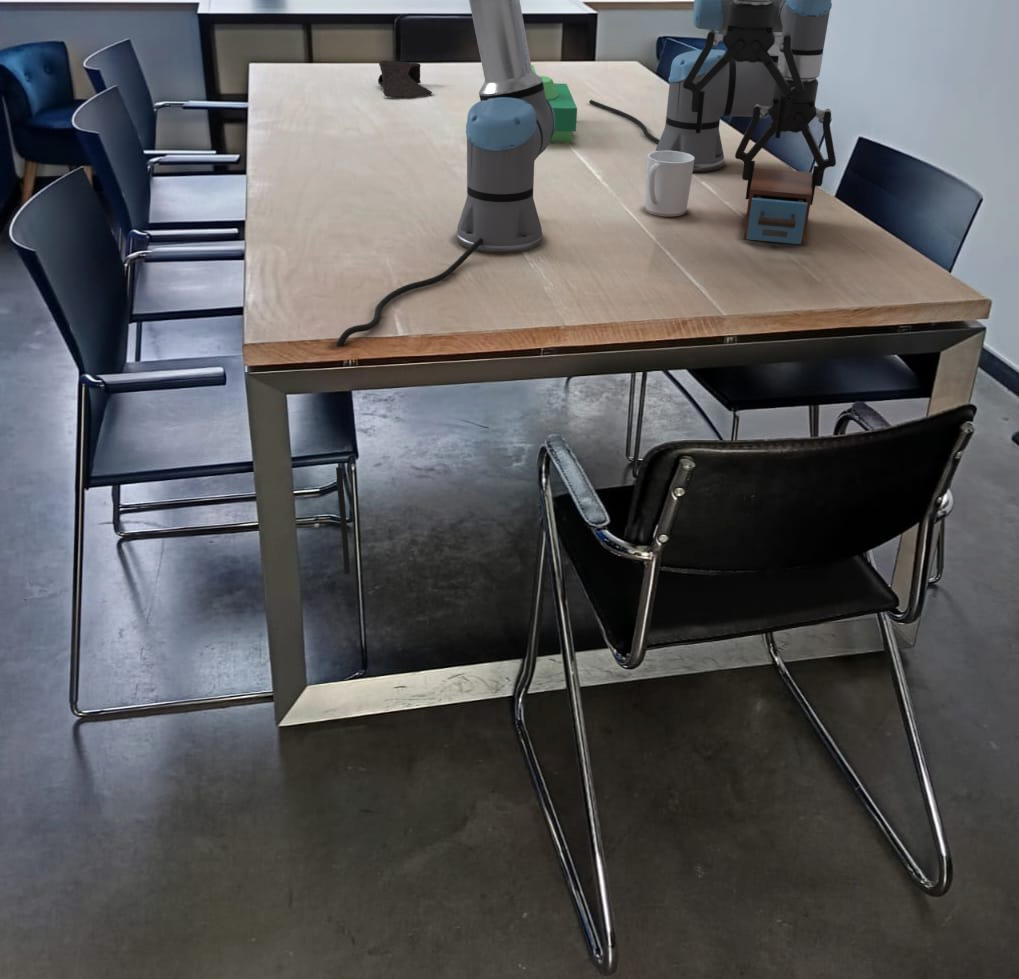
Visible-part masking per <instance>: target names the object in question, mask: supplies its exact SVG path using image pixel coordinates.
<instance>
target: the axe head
mask: <svg viewBox="0 0 1019 979" xmlns="http://www.w3.org/2000/svg"><path fill="white" fill-rule="evenodd" d="M378 66H379V68H380V72H381V74H379V75H378V79H377V84H378V85H379V86H380V87H381V88H382V89H383V95H384V96H385V97H388V98H394V99H395V98H396V99H403V98H405V99H406V98H407V99H411V98H418V97H425V96H429V95H432V94H433V91H431V90H430V89H428V88H427V87H425V86H422V85H421V84H422V82H421V63H419V62H410V61H408V62H407V61H397V60H388V59H387V60H380V61H379V62H378Z"/></svg>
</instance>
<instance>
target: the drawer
mask: <svg viewBox="0 0 1019 979" xmlns="http://www.w3.org/2000/svg"><path fill="white" fill-rule="evenodd" d="M806 210H807V202H803V199H801V198H789V197H778V196H767V195H757V198H752V202H751V209H750V216H749V224H748V231H747V238H746V239H745V240H749V241H750V240H751V241H759V242H771V243H772V242H773V243H782V244H792V245H802V244H801V241H802V234H803V228H804V222H805V216H806Z"/></svg>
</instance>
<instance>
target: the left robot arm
mask: <svg viewBox="0 0 1019 979" xmlns="http://www.w3.org/2000/svg"><path fill="white" fill-rule="evenodd" d="M773 1H774V0H734V1H733V2H731V4H730V5H729V15H728V24H727V30H726V31H724V33H723V32H718V31H714V30H708V33H707V35H706V40H705V45H704V46H703V48H702V49H701V50H702V52H701V53H700V55H699V57H698V58H697V60H696V62H695V64H694V65H693V67H692V69H691V70H690V72H689V74H688V76H687V77H686V79H685V81H684V83H683V87H684V88H685V89H688V90H691V91H692V93H693V97H692V108H691V109H692V112H698V114H697V124H696V133H700V132H701V125H702V115H703V105H704V95H705V91H701V90H702V89H703V88H704V87H705V86H706V85H707V83H708V82H709V81H710V80H711V79H712V78H713V77H714V76H715V75H716V74H717V73H718V72H719V71H720V70H721V69H722V68H723V67H724V66H725V65H726V64H727V63H728V62H729V61H730V60H731V59H732V58H733V59H734V60H735V61H737V62H744V61H748V62H751V63H755V62H757V61H759V60H761V61H762V62H763V64H764V65H765V66H766V68H767V69H768V71H769V72H770V74H771V75H772V77H773V78H774V80H775V81H776V83H777V84H778V86H779V87H780V89H781V90H782V92H783V93H784V95H785V96H782V95H781V97H780V104H779V112H778V119H777V127H776V132H775V133H774V134H775V136H774V138H775V139H780V138H781V126H782V118H783V117H789V115H790V110H791V103H792V99H793V97H795V96H797V95H802V94H803V93H804V86H803V83H802V80H801V77H800V74H799V71H798V68H797V65H796V62H795V59H794V56H793V53H792V50H791V35H790V34H789V33H787V34H785V35H781V36H774V34H773V26H774V18H775V10H776V5H775V4H774V3H773ZM468 2H469V7H470V12H471V16H472V21H473V22H472V23H473V27H474V33H475V37H476V43H477V47H478V51H479V57H480V62H481V67H482V68H481V69H482V72H483V78H484V82H483V85H482V86H481V88H480V89H479V91H478V95H479V100H480V101H478V102H475V104H473V105H472V106H471V107H470V109H469V110H468V111H467V119H466V123H465V124H466V125H465V133H466V192H467V193H466V198H465V202H464V205H463V209H462V211H461V214H460V218H459V220H458V224H457V228H456V241H457V243H458V244H459V245H461V246H462V247H464V248H466V249H467V250H466V251H465V252H464V253H463V254H462V255H460V257H459V258H457V260H455V262H453V263H452V264H451V265H450V266H449V267H448V268H447V269H446V270H445V271H443V272H442V273H439V274H438V275H435V276H434V277H431V278H427V279H424V280H419V281H415V282H412V283H409V284H405V285H403V286H401V287H399V288H396V289H395V290H393V291H391V292H390V293H388V294H387V295H386V296H385V297H383V298H382V299H381V300H380V301H379V302H378V304H377V305H376V306H375V308H374V309H375V310H374V316H373V318H372V320H371V321H369V322H368V323H363V324H357V325H353V326H351V327H348V328H347V329H345V330H344V331H343V332H342V334H341V335H340V336H339V337H338V340H337V342H336V344H335V347H336V348H341V347H343V346H344V344H345V342H346V341H347V339H348V338H350V336H351V335H354V334H356V333H360V332H361V333H362V332H367V331H371V330H372V329H374V328H375V327H376V326H377V325H378V324H379V322H380V320H381V315H382V311H383V309H384V308H385V307H386V306H387V305H388V303H389V302H391V301H392V300H393V299H395V298H397V297H398V296H400V295H402V294H404V293H407V292H409V291H413V290H416V289H419V288H420V289H421V288H424V287H428V286H431V285H434V284H437V283H439V282H441V281H443V280H444V279H447V278H448V277H449V276H451V274H453V273H454V272H455V271H456V270H457V269H458V268H459V267H460V266H462V264H463V263H464V262H465V261H466V260H467V259H468V258H469V257H470V256H471V255H472V254H473V253H474V252H479V253H486V254H497V255H499V254H500V255H506V254H507V255H508V254H517V253H524V252H527V251H530V250H533V249H536V248H538V247H539V246H540V245H541V244H542V243H543V229H542V224H541V221H540V220H541V219H540V218H539V214H538V213H539V212H538V210H537V206H536V204H535V199H534V184H535V181H534V180H535V161H536V160H537V159H538V158H539V156H540V155H541V154H543V153H544V152H545V151H546V149H548V146H549V145H550V144H551V143H550V141H551V139H552V136H553V133H554V128H555V115H554V111H553V108H552V106H551V104H550V102H549V101H548V100H547V98H546V96H545V91H544V86H543V80H542V78H541V77H540V76H541V75H538V74H537V73H536V74H535V73H534V72H533V70H532V67H531V65H532V62H531V56H530V50H529V44H528V40H527V33H526V29H525V23H524V16H523V12H522V5H521V0H468ZM720 42H722V43H723V44H724V46H725V48H726V49H727V50H725V51H726V52H725V53H724V54H723V55H722V57H721V58H720V59H719V60H718V61H717V62H716V63H715V64H714V65H713V66H712V67H711V68H710V69H709V70H708V71H707V72H706V74H705V75H704V76H703V77H702V78H701V79H700V80H699V81H698V82H697V83H695V82H693V80H694V78H695V77H696V75H697V73H698V72H699V70H700V68H701V66H702V65H703V63H704V61H705V60H706V58H707V56H708V55H709V53H710V51H711V49H712V48H713V47H716V46H717V47H718V45H719V43H720ZM774 43H776V44H778V47H779V49H783V51H784V56H785V59H786V62H787V65H788V68H789V71H790V73H791V76H792V79H793V82H794V85H795V87H793V88H791V87H790V86H789V84H788V83H787V81H786V80H785V78H784V77H783V75H782V74H781V72H780V70H779V69H778V67H777V66H776V64H775V63H774V61H773V60H772V58H771V56H770V55H769V53H768V52H767V51H768V50H769V49H770V48H771V47H772V46H773V44H774ZM335 474H336V486H337V487H336V488H337V497H338V499H337V500H338V508H339V520H340V530H341V532H340V533H341V544H342V557H343V558H342V560H343V572H344V575H349V574H350V573H351V565H350V550H349V549H350V548H349V536H348V524H347V512H346V511H347V510H346V501H345V500H346V499H345V487H344V474H343V467H339V466H336V467H335Z"/></svg>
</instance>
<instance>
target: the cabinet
mask: <svg viewBox="0 0 1019 979" xmlns="http://www.w3.org/2000/svg"><path fill="white" fill-rule="evenodd" d="M812 174H813V171H811V172H810V171H801V170H800V171H799V170H788V169H775V168H763V167H754V172H753V176H752V182H751V187H750V193H749V199H747V200H748V201H747V208H746V214H745V215H746V216H745V223H744V231H743V238H742V239H743V240H747V239H746V238H747V231H748V224H749V216H750V209H751V202H752V198H757V195H767V196H778V197H789V198H801V199H803V202H807V210H806V216H805V222H804V228H803V234H802V241H801V244H800V245H805V240H806V239H805V238H806V234H807V228H808V220H809V215H810V209H811V205H810V204H811V198H812Z"/></svg>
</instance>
